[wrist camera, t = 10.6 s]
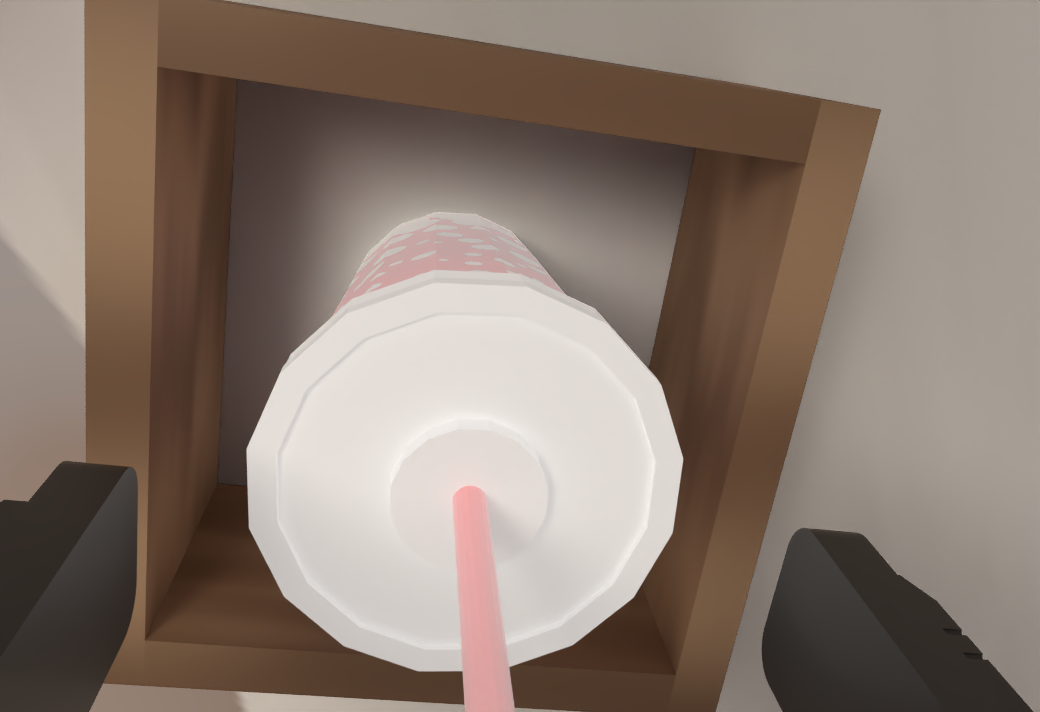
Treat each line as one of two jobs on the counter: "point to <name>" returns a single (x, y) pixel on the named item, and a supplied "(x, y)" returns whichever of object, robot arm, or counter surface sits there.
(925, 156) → the counter surface
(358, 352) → the beverage cup
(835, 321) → the counter surface
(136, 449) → the wooden square frame
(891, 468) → the counter surface
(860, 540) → the robot arm
